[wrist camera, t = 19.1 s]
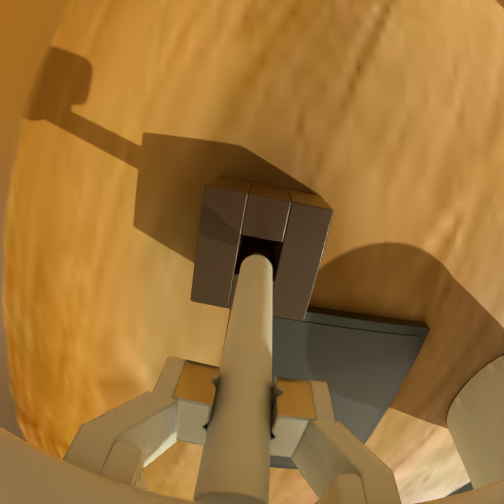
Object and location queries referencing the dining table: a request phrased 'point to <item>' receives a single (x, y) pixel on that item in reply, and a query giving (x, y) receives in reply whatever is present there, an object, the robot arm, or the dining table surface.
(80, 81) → the dining table surface
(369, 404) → the tablet
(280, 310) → the pen stand
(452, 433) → the utensil holder
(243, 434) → the stylus
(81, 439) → the robot arm
